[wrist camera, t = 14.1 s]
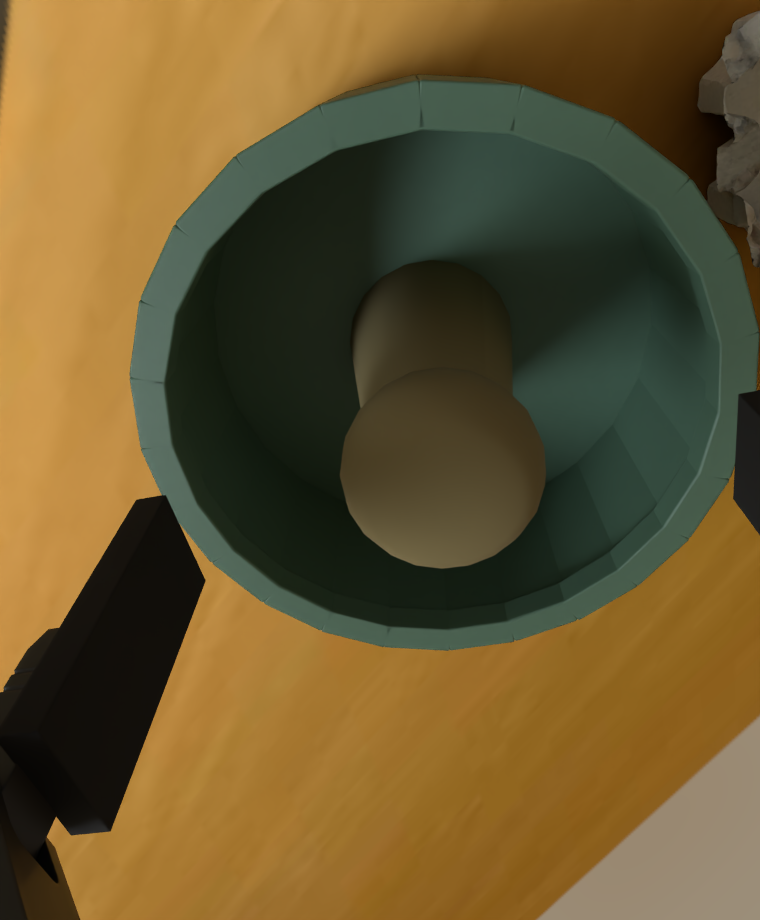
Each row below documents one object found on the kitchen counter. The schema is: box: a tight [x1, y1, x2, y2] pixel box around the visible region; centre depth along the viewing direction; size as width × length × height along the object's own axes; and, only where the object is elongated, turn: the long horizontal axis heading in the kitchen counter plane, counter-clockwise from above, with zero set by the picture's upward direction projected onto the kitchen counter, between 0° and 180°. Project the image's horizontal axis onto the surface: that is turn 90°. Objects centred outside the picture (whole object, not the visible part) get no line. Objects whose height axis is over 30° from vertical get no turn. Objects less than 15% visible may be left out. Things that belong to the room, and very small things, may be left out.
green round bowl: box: [130, 74, 760, 651], centre depth 23 cm, size 17×17×8 cm
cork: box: [340, 260, 546, 569], centre depth 21 cm, size 6×6×11 cm
